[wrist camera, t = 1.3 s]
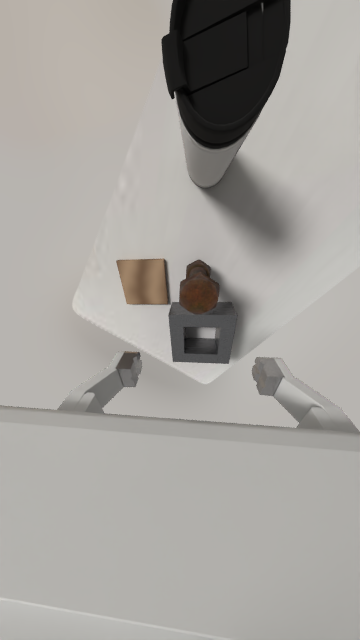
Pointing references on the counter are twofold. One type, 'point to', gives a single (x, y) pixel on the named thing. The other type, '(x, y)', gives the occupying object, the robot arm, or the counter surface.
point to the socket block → (202, 347)
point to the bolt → (198, 289)
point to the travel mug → (222, 74)
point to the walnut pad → (143, 281)
